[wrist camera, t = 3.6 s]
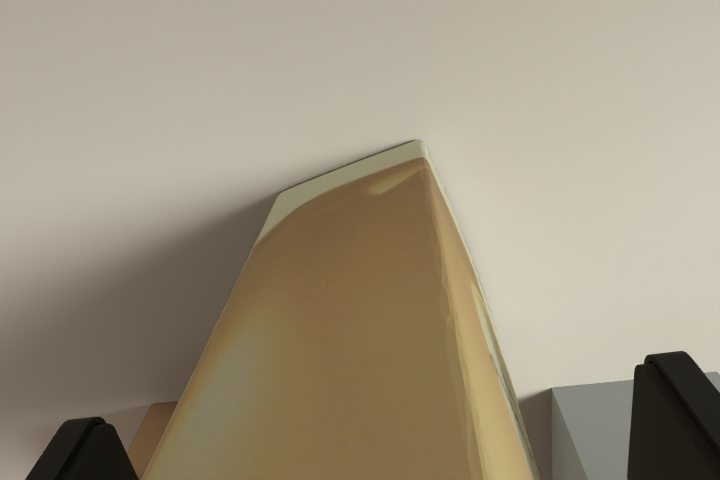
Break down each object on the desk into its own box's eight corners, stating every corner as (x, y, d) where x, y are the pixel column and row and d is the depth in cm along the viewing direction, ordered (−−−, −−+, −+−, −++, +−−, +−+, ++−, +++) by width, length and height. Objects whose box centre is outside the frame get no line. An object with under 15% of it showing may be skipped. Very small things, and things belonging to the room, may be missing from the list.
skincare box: (496, 318, 17) (718, 1016, 6) (361, 362, 17) (332, 1034, 7) (419, 121, 14) (563, 720, 3) (265, 184, 15) (-44, 821, 4)
